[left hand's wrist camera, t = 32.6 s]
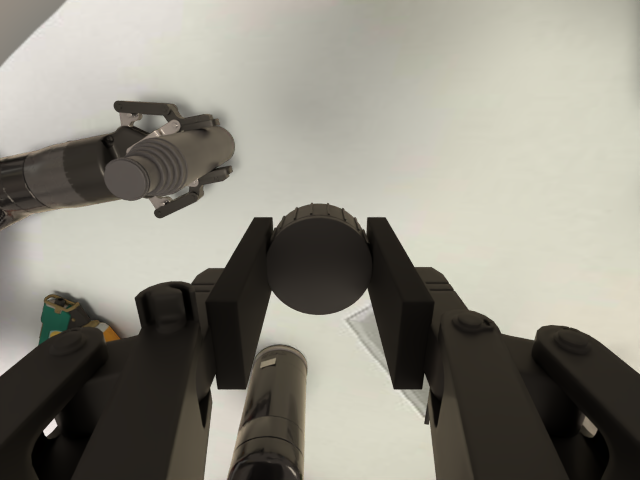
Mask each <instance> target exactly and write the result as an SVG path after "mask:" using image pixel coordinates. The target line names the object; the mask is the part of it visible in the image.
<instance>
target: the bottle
mask: <svg viewBox="0 0 640 480" xmlns="http://www.w3.org/2000/svg"><path fill="white" fill-rule="evenodd" d="M234 150H235V143H234V140H233V137H232V136H231V134H230V133H229V132H228V131H227V130H225V129H224V128H222V127H218V126H211V127H206V128H201V129H196V130H189V131H184V132H179V133H173V134H168V135H163V136H157V137H152V138H147V139H144V140H142V141H140V142H138V143H137V144H135V145H134V146H133V147H132V148H131V149H130V151H129V152H128V153H127V154H126V156H125V157H124V158H117V159H114V160H112V161H110V162H109V163H108V164H107V165H106V167H105V168H106V169H105V172H104V180H105V184H106V186H107V188H108V189H109V191H110V192H111V193H112V194H114V195H115V196H116V197H118V198H120V199H123V200H129V201H134V200H138V199H141V198H142V197H144V196H145V195H149V196H166V195H170V194H173V193H176V192H177V191H179V190H181V189H182V188H184V187H186V186H187V185H189V184H190V183H192V182H194V181H195V180H197V179H199V178H200V177H202V176H203V175H205V174H207V173H208V172H210V171H212V170H213V169H215V168H216V167H218V166H220V165H221V164H223V163H224V162H226V161H228V160H229V159H230V158H231V157H232V155H233V153H234Z"/></svg>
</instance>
